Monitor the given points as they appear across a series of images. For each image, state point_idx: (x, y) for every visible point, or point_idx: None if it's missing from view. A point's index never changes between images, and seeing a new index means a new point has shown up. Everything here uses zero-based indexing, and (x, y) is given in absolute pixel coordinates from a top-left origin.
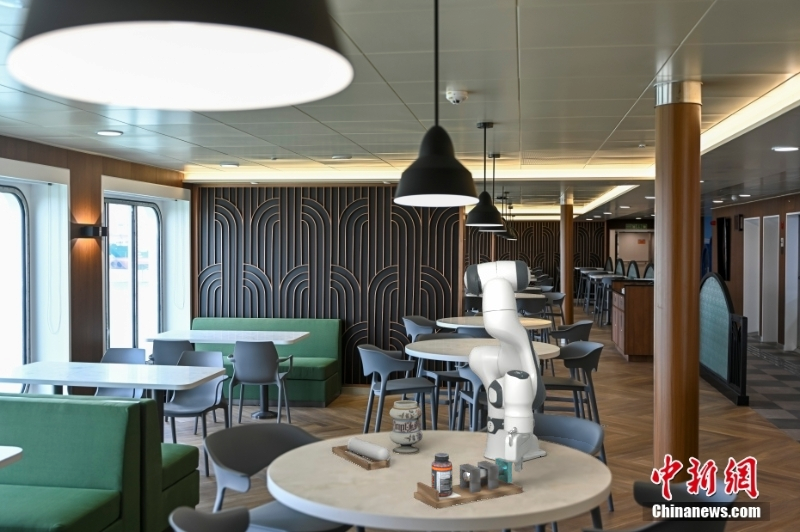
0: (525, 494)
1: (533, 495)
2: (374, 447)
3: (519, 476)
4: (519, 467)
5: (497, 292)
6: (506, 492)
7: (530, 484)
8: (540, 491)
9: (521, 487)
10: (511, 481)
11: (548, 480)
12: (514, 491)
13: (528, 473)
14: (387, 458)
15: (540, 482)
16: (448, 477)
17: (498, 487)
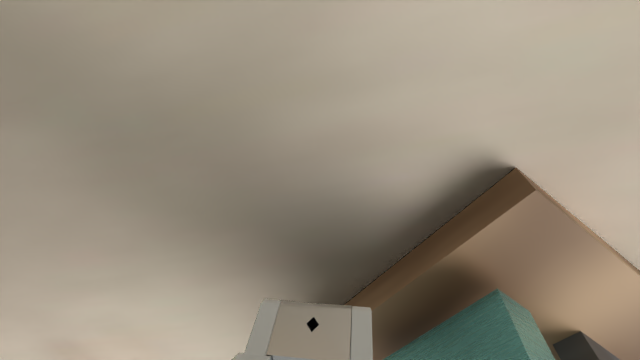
0: (570, 132)
1: (603, 55)
2: None
3: (116, 246)
4: (370, 352)
5: None
6: (634, 270)
7: (254, 150)
8: (440, 17)
9: (539, 195)
10: (504, 297)
11: (51, 29)
12: (582, 224)
13: (12, 210)
14: None
15: (154, 86)
16: None
17: (582, 336)
